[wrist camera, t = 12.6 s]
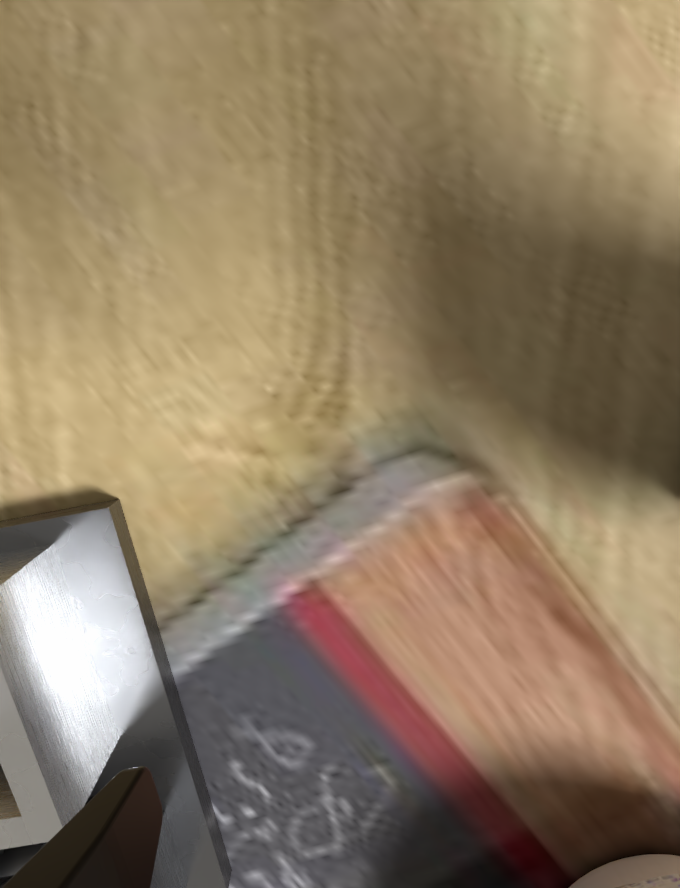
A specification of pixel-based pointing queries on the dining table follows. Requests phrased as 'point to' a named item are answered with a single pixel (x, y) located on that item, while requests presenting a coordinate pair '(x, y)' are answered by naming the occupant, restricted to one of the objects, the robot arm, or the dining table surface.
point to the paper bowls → (635, 873)
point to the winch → (91, 694)
